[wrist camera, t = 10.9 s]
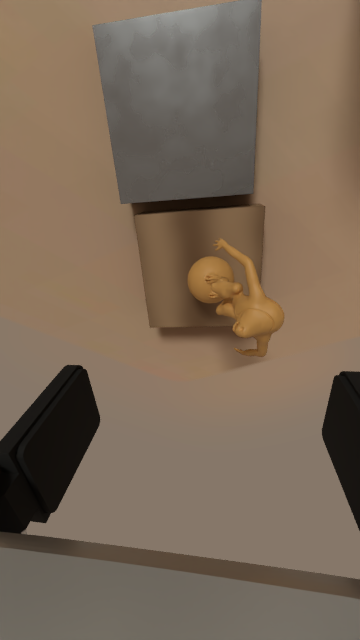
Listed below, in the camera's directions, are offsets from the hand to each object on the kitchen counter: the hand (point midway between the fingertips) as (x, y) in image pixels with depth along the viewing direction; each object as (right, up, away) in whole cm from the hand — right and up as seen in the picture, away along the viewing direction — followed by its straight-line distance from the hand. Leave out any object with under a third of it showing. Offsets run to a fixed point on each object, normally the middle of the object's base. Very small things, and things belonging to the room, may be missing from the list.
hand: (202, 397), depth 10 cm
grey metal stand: (-1, +19, +12) cm, 23 cm away
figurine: (+3, +8, +14) cm, 16 cm away
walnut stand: (+1, +9, +17) cm, 19 cm away
